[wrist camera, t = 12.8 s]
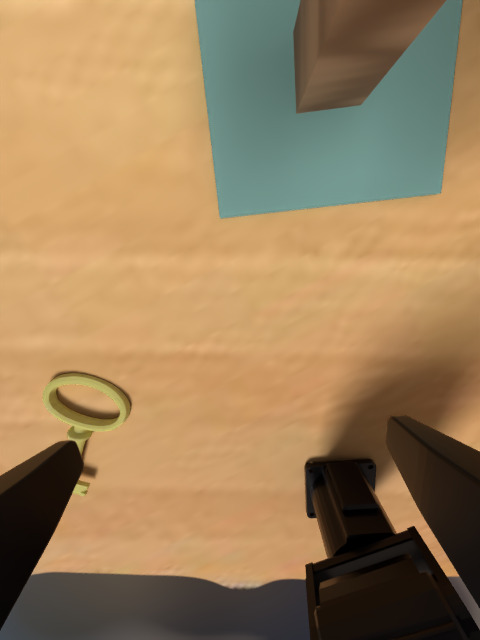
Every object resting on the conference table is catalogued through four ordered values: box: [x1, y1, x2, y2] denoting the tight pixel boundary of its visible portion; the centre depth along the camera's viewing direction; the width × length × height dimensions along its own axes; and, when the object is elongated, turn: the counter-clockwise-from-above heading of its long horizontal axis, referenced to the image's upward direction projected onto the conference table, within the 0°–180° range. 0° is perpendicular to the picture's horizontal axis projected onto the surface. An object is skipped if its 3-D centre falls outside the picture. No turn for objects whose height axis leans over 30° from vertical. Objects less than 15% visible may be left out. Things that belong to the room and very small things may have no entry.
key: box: [43, 373, 131, 496], centre depth 22 cm, size 7×12×2 cm, turn 178°
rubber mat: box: [195, 0, 463, 219], centre depth 15 cm, size 15×15×1 cm
